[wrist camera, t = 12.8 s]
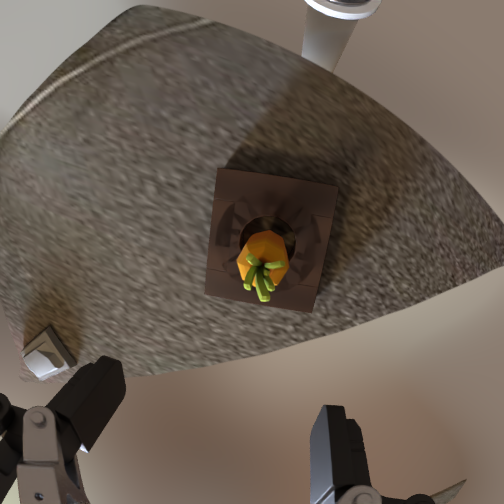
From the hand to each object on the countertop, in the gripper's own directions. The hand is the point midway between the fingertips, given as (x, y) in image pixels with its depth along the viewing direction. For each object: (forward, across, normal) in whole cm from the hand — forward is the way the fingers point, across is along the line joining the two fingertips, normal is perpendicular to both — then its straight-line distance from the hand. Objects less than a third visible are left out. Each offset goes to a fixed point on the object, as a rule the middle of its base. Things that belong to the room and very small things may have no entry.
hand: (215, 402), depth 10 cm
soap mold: (+28, +47, +36) cm, 65 cm away
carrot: (+28, 0, 0) cm, 28 cm away
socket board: (+28, 0, 0) cm, 28 cm away
